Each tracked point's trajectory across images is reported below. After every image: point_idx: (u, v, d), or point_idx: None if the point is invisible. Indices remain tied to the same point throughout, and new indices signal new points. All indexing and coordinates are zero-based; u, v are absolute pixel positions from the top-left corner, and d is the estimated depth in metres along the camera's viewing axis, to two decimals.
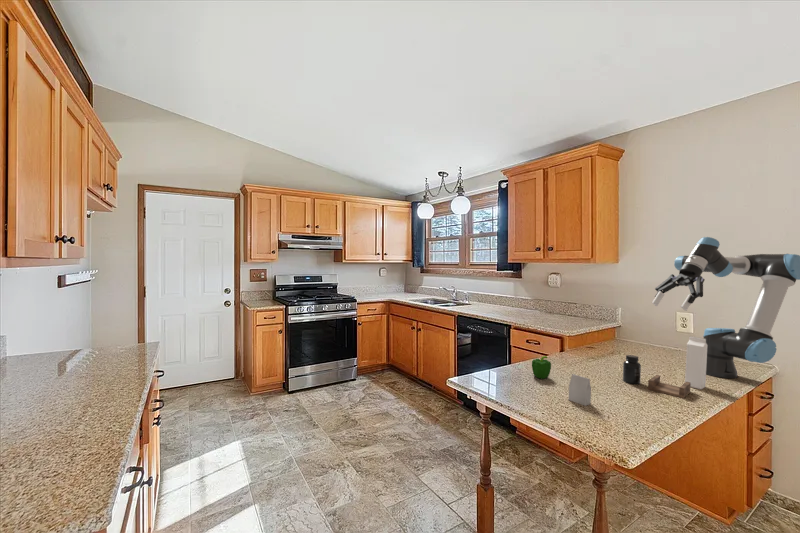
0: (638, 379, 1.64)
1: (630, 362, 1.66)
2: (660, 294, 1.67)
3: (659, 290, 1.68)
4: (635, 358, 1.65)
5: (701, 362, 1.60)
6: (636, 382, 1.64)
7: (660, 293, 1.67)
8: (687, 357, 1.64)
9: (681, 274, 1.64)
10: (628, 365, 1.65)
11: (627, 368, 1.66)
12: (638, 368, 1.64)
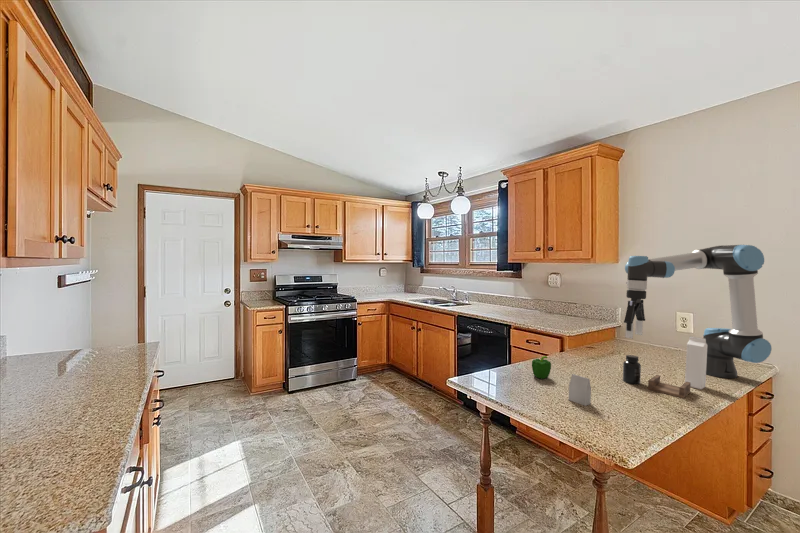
0: (638, 379, 1.64)
1: (630, 362, 1.66)
2: (637, 323, 1.71)
3: None
4: (635, 358, 1.65)
5: (701, 362, 1.60)
6: (636, 382, 1.64)
7: (637, 322, 1.71)
8: (687, 357, 1.64)
9: None
10: (628, 365, 1.65)
11: (627, 368, 1.66)
12: (638, 368, 1.64)
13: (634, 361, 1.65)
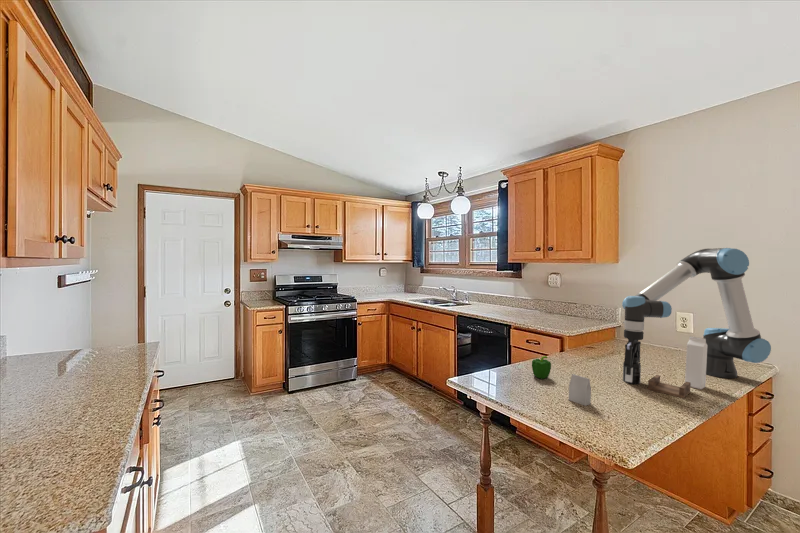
0: (638, 379, 1.64)
1: None
2: None
3: None
4: (635, 358, 1.65)
5: (701, 362, 1.60)
6: (636, 382, 1.64)
7: None
8: (687, 357, 1.64)
9: None
10: None
11: None
12: (638, 368, 1.64)
13: (634, 361, 1.65)
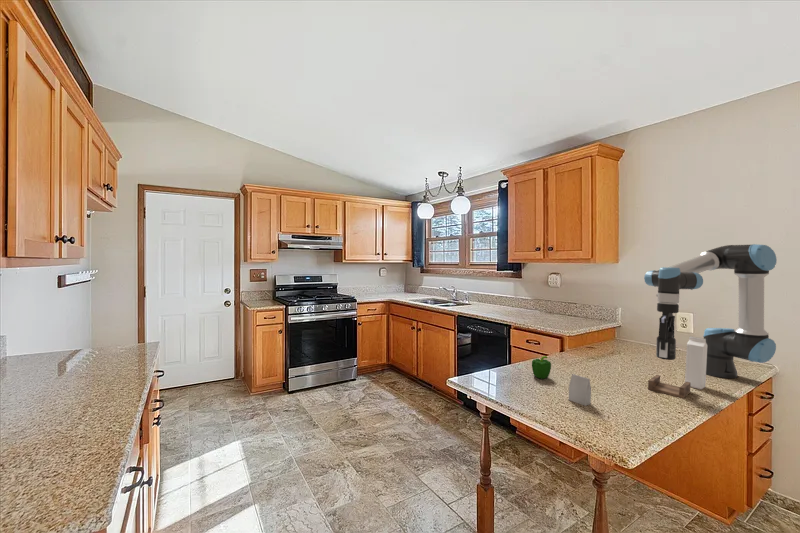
0: (673, 354, 1.55)
1: None
2: None
3: None
4: (670, 332, 1.56)
5: (701, 362, 1.60)
6: (671, 357, 1.55)
7: None
8: (687, 357, 1.64)
9: None
10: None
11: None
12: (673, 343, 1.55)
13: (669, 335, 1.56)
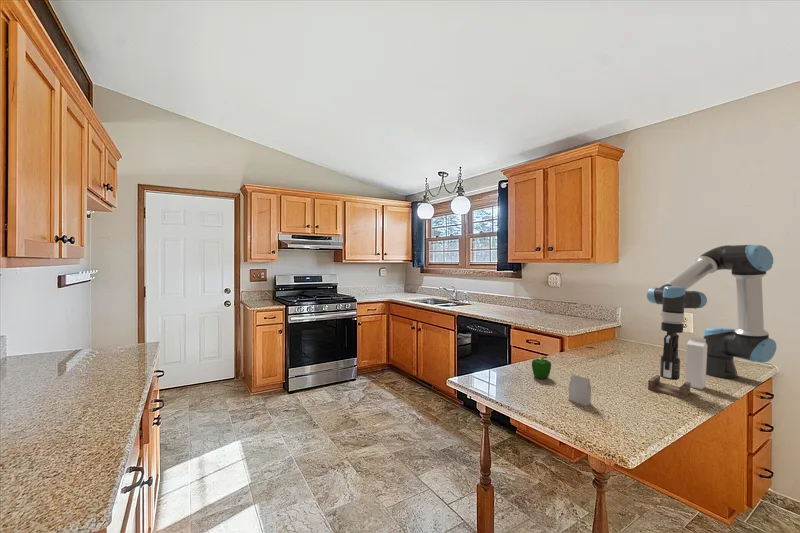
0: (677, 374, 1.54)
1: None
2: None
3: None
4: (674, 352, 1.55)
5: (701, 362, 1.60)
6: (675, 377, 1.54)
7: None
8: (687, 357, 1.64)
9: None
10: None
11: None
12: (677, 363, 1.54)
13: (673, 355, 1.55)
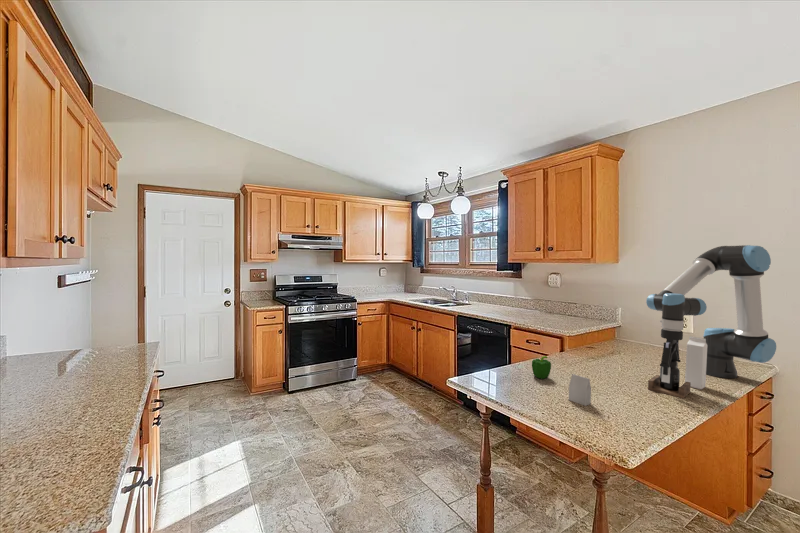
0: (677, 385, 1.54)
1: None
2: None
3: (671, 359, 1.63)
4: (674, 363, 1.55)
5: (701, 362, 1.60)
6: (675, 388, 1.54)
7: None
8: (687, 357, 1.64)
9: None
10: None
11: None
12: (677, 373, 1.54)
13: (673, 366, 1.55)
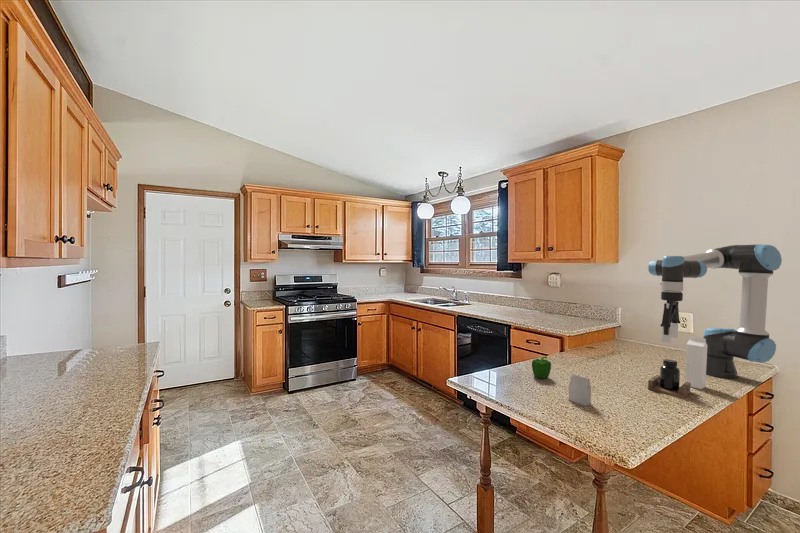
0: (677, 385, 1.54)
1: (668, 367, 1.56)
2: (672, 325, 1.64)
3: (671, 321, 1.65)
4: (674, 363, 1.55)
5: (701, 362, 1.60)
6: (675, 388, 1.54)
7: (671, 325, 1.64)
8: (687, 357, 1.64)
9: None
10: (666, 370, 1.56)
11: (665, 374, 1.56)
12: (677, 373, 1.54)
13: (673, 366, 1.55)
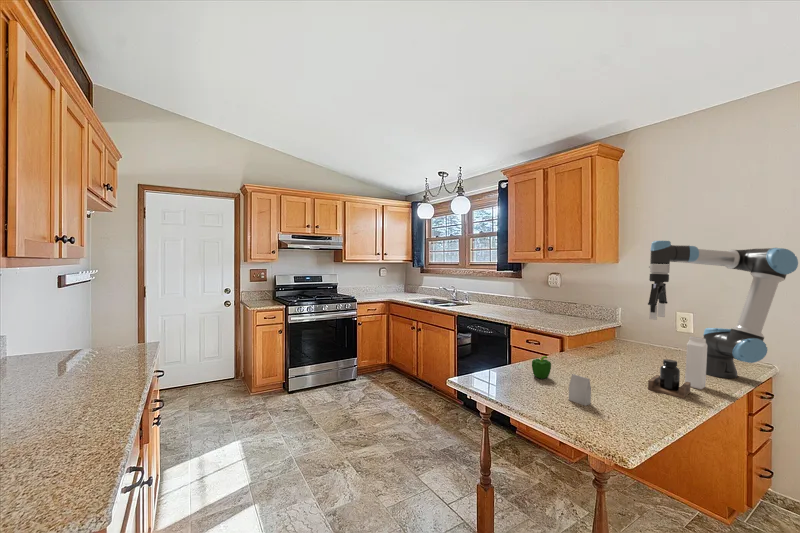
0: (677, 385, 1.54)
1: (668, 367, 1.56)
2: (660, 305, 1.78)
3: (659, 302, 1.79)
4: (674, 363, 1.55)
5: (701, 362, 1.60)
6: (675, 388, 1.54)
7: (659, 305, 1.78)
8: (687, 357, 1.64)
9: None
10: (666, 370, 1.56)
11: (665, 374, 1.56)
12: (677, 373, 1.54)
13: (673, 366, 1.55)
